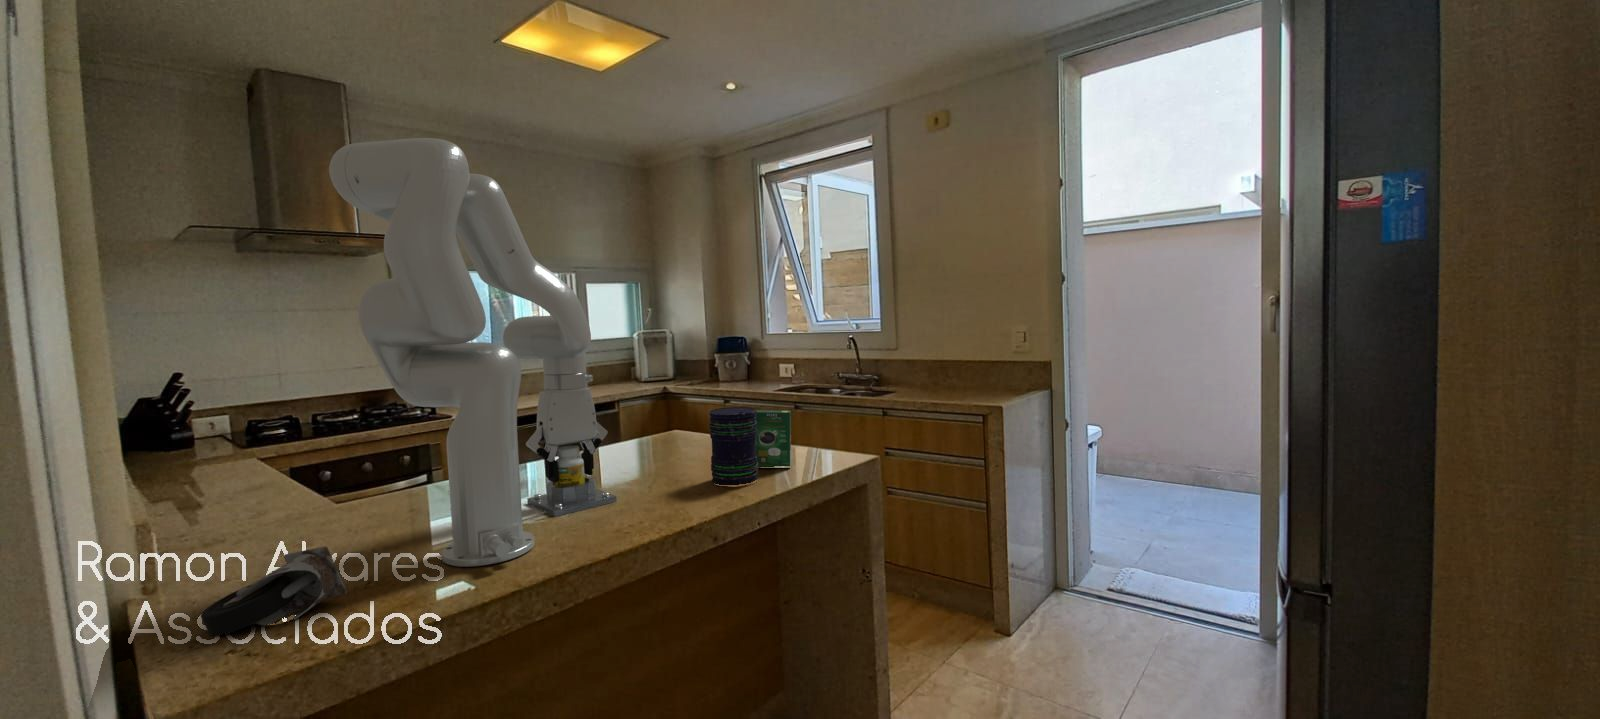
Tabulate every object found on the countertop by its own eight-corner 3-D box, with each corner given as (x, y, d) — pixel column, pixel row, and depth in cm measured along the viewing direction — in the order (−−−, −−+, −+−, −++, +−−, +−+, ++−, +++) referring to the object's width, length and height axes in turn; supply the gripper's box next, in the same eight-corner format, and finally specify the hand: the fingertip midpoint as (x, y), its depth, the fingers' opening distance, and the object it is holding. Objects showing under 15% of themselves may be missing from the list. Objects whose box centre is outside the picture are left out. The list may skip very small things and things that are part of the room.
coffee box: (792, 466, 145) (791, 409, 144) (791, 469, 142) (790, 411, 141) (757, 466, 146) (756, 409, 145) (755, 469, 143) (754, 411, 142)
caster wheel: (198, 656, 73) (279, 604, 82) (278, 642, 71) (351, 590, 80) (172, 605, 71) (257, 558, 81) (253, 589, 69) (330, 543, 79)
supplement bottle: (587, 492, 124) (584, 443, 123) (584, 500, 119) (581, 449, 118) (557, 494, 123) (555, 445, 122) (553, 502, 117) (550, 451, 117)
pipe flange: (616, 501, 121) (615, 480, 120) (554, 516, 112) (553, 494, 112) (587, 490, 129) (586, 470, 129) (527, 503, 121) (526, 482, 121)
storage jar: (702, 481, 134) (699, 411, 133) (740, 472, 140) (737, 405, 139) (729, 490, 126) (727, 416, 125) (768, 480, 133) (766, 410, 132)
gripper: (598, 377, 128) (603, 466, 129) (510, 386, 116) (516, 483, 117) (617, 379, 123) (621, 471, 124) (527, 388, 110) (532, 490, 112)
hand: (570, 476), depth 120 cm, fingers open, 6 cm apart
